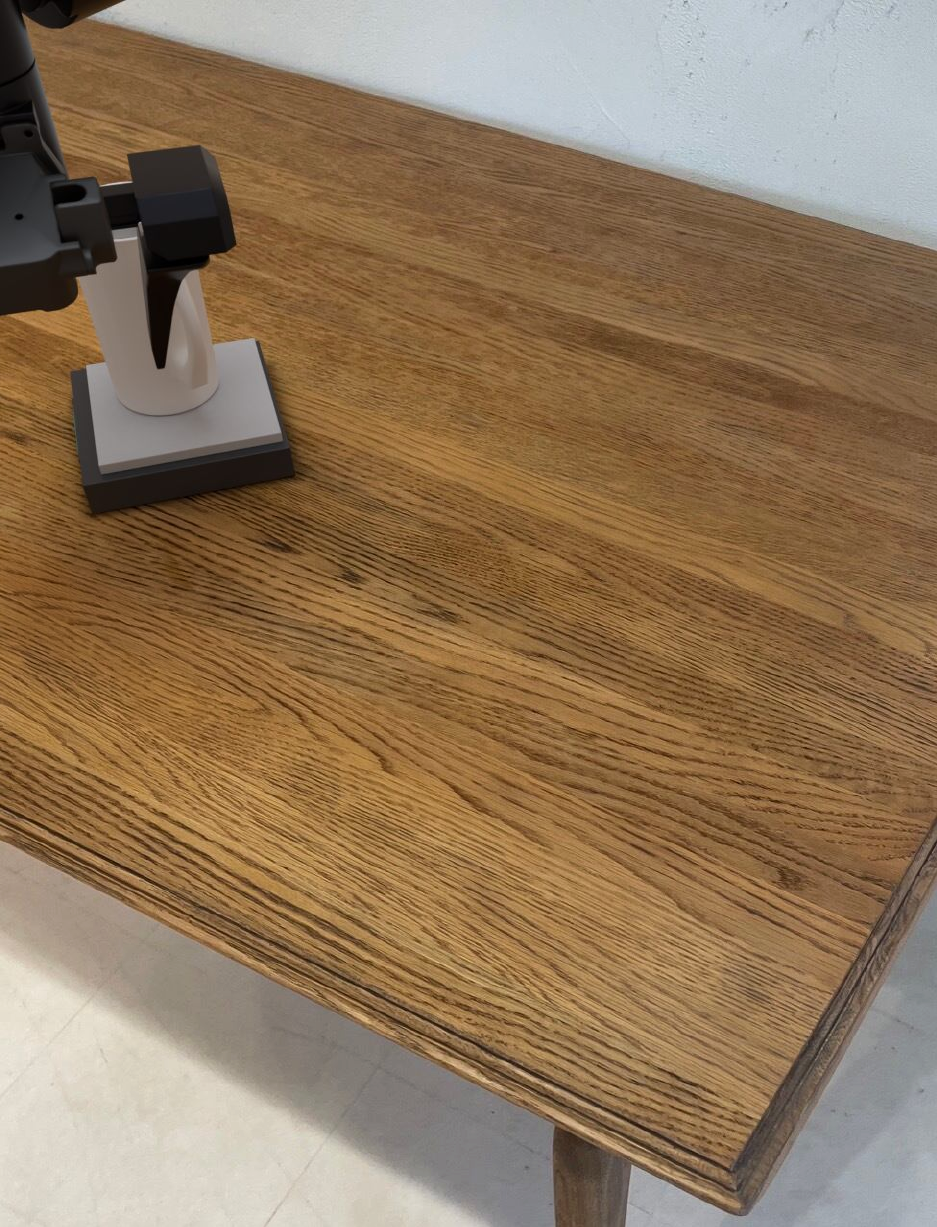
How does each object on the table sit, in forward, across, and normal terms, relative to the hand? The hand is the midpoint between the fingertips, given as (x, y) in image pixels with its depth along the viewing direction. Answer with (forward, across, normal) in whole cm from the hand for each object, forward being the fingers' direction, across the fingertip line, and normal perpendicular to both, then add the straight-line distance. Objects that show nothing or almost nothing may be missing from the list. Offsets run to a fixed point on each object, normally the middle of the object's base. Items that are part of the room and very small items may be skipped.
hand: (64, 380), depth 64 cm
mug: (+10, +5, +11) cm, 16 cm away
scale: (+13, +4, +12) cm, 18 cm away
